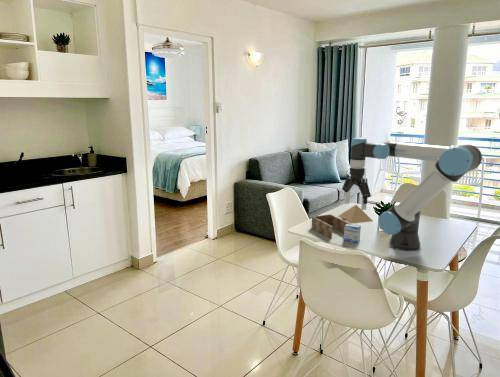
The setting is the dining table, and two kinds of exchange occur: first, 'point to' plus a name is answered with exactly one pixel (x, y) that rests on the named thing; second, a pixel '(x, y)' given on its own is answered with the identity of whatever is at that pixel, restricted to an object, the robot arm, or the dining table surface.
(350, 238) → the medicine box
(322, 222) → the open wooden shelf
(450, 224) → the dining table surface
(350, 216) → the model pyramid
